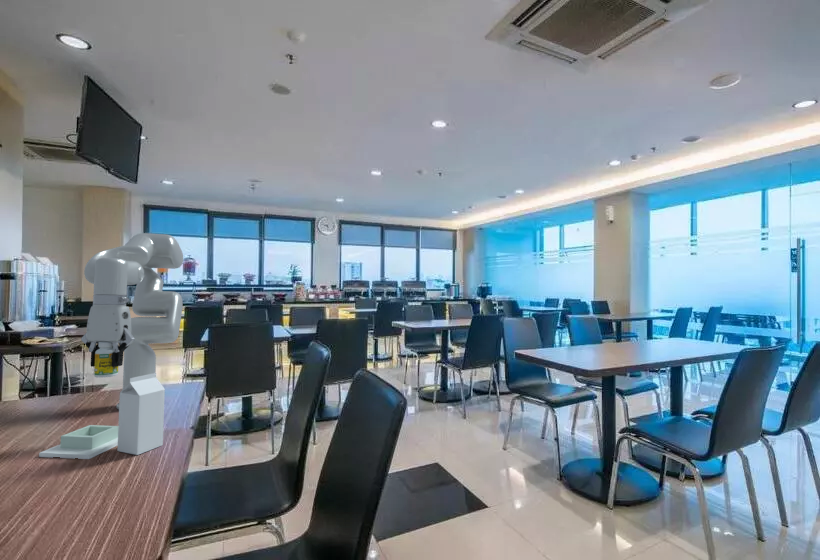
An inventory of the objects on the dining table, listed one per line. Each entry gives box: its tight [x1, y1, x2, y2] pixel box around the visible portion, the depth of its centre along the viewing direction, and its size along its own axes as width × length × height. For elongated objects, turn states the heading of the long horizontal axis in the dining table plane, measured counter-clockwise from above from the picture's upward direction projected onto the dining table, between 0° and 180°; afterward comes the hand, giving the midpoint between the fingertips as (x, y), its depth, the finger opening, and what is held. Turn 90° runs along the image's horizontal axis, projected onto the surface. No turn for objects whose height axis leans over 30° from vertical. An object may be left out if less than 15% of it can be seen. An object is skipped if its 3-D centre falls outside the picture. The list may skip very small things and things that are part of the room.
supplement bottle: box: [93, 342, 119, 379], centre depth 111 cm, size 5×5×10 cm
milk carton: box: [116, 372, 166, 456], centre depth 104 cm, size 7×7×19 cm
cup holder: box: [38, 424, 118, 460], centre depth 104 cm, size 15×13×4 cm
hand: (106, 365), depth 111 cm, fingers closed on supplement bottle, 5 cm apart
